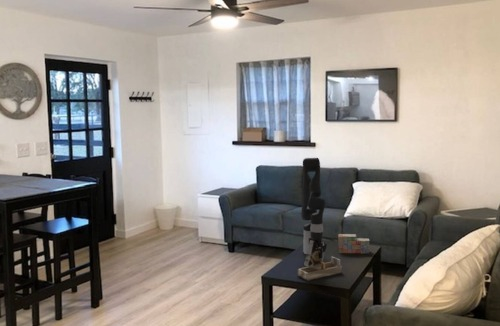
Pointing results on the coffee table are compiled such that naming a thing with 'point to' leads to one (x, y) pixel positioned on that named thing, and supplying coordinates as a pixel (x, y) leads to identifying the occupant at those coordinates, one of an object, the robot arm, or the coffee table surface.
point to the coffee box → (314, 256)
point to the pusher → (322, 266)
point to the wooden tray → (329, 270)
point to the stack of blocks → (353, 244)
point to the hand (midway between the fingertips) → (316, 256)
